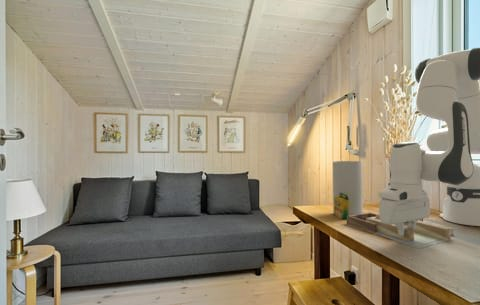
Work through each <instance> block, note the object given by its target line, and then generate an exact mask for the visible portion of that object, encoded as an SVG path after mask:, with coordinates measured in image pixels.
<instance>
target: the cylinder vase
mask: <svg viewBox="0 0 480 305" xmlns="http://www.w3.org/2000/svg"><path fill="white" fill-rule="evenodd" d="M340 193H342V194H345V195H348V213H349V216H350V215H356V214H362V213H364V211H363V208H364V206H363V162H362V161H356V160H354V161H353V160H352V161H351V160H350V161H349V160H341V161H340V160H338V161H335V160H334V161H332V200H333V201H332V203H333V205H332V206H333V214H334V197H340ZM342 196H343V197H345V196H344V195H342Z"/></svg>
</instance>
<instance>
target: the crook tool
mask: <svg viewBox="0 0 480 305" xmlns="http://www.w3.org/2000/svg"><path fill="white" fill-rule="evenodd" d="M366 221H368V222H372V223H375V224H377V231H379V232H382V233H385V234H388V235H392V236H395V237H398V238H401V239H405V240H408V241H411V240H414V229H413V228H409V227H406V226H403V227H404V230H406V235H404V236H401V235H399V234H398V229H397V227H396V225H395V224H392V225H390V224H386V223H383V222H381V220H379V219H376V217H370V218H366Z"/></svg>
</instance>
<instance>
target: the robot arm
mask: <svg viewBox="0 0 480 305" xmlns="http://www.w3.org/2000/svg"><path fill="white" fill-rule="evenodd" d="M414 77H415V80H416V83H417V84H418V86H417V90H416V95H415V96H416V97H415V107H416V109H417V111H418V112H419V113H420V114H422V115H423V116H425V117H428V118H429V119H430V118H431V119H434V120H438V121H442V122H445V123H446V126H447V128H442V129H437V130H433V131H431V132H430V133H429V134H428V136H427V138H426V146H427V148H428V149H429V151H427V150H424V149H422V148H421V145H420V143H419V142H418V141H415V140H414V141H412V140H410V141H401V142H396V143H394V144H393V145H392V146H391V149H390V154H389V171H390V178H389V185H387V186H386V187H384V188H383V189H381V190H379V192H378V197H379V198H380V200H379V202H378V203H379V204H378V213H379V218H380V220H381V222H383V223H386V224H390V225H392V224H395V225H396V227H397V229H398V234H399V235H401V236H404V235H406V230H404V227H403V225H405V223H407V225H408V227H409V228H413V229H414V228H415V226H416V223H417V220H418V219H423V220H424V219H428V218H430V216H431V204H430V199H429V197H428V194H427V192H426V191H425V190H424V189H423V181H427V182H435V183H442V184H447V186H446V197H444V199H443V203H442V205H443V207H442V213H439V217H440V218H443V220H445V221H447V222H451V223H454V224H459V225H465V226H472V227H473V226H474V227H476V226H477V227H480V166H479V165H477V164H475V163H474V162H473V159H472V158H473V157H472V155H480V47H474V48H471V49H464V50H458V51H457V50H456V51H451V52H448V53H445V54H441V55H438V56H435V57H432V58H431V57H430V58H426V59H424V60H422V61H420V62H419V63H418V64H417V66H416V68H415V71H414Z"/></svg>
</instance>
